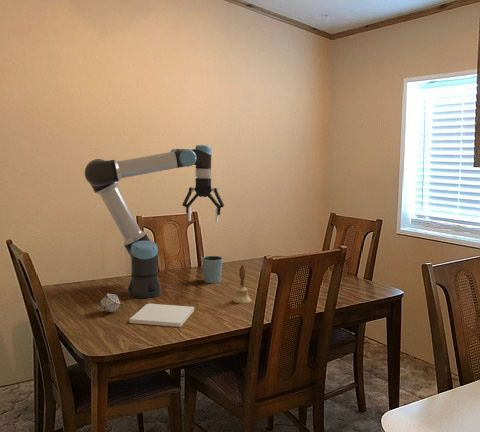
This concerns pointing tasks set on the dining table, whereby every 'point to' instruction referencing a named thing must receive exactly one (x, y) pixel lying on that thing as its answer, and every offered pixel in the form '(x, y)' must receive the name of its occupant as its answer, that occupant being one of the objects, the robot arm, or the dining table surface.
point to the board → (162, 315)
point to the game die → (110, 302)
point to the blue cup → (212, 269)
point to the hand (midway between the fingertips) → (203, 221)
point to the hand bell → (242, 290)
